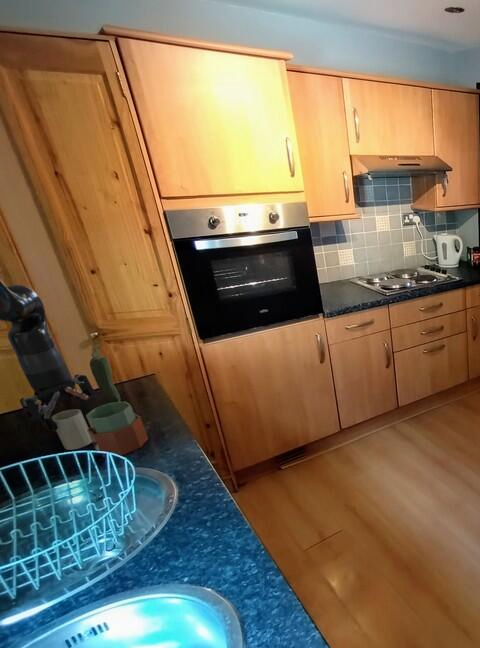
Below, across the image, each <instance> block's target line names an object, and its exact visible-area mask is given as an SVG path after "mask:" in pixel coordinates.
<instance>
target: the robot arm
mask: <svg viewBox="0 0 480 648" xmlns="http://www.w3.org/2000/svg"><path fill="white" fill-rule="evenodd" d="M1 274H2V268H0V275H1ZM0 321H1V322H7V323H10V325H11V327H10V329H9V330H8V332H7V339H8V341H9V343H10V345H11V347H12V349H13V351H14V353H15V356H16V359H17V361H18V364H19V366H20V368H21V370H22V373H23V375H24V376H25V378H26V380H27V383H28V384H29V386H30V387H31V389H32V390H33V395H31V396H28V397H21V398H20V399H19V403H20V405H21V407H22V410H23V412H24V414H25V416H26V419H27V420H28V421H35V422H39V421H40V422H41V424H42V426H43V429H45V430H47V431H51V432H56V430H57V427H56V425H55V423H54V421H53V419H52V417H53V416H52V412H53V411H54V410H55V408H56V405H60V404H62V403H63V402H64V401H68V400H70V399H71V398H74V399H76V400H77V403H78V406H79V407H80V410H81V412H82V413H85V414H88V413H89V412H91V411H92V410H93V406H92V403H91V402H90V400H89V399H90V396H93V395H95V389H94V387H93V386H92V384H91V382H90V380H89V378H88V377H87V375H85V374H75V375H74V376H73V378H72V375H71V373H70V371H69V368H68V367H67V364H66V362H65V359H64V357H63V355H62V353H61V352H60V350H59V349H58V347H57V345H56V344H55V341H54V340H53V337H52V335H51V332H49V329H48V322H47V315H46V311H45V306H44V303H43V301H42V299H41V297H40V295H39V294H38V293H37V292H36V291H35V290H34V289H32V288H30V287H29V286H26V285H22V284H12V285H8V286H6V284H5V283H4V282H3V281H2V279H0ZM76 385H78V387H79V389H80V390H81V391H79V390H76V389H75V387H76ZM37 401H39V403H38V402H37ZM37 406H38V407H37Z"/></svg>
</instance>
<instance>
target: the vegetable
mask: <svg viewBox="0 0 480 648" xmlns="http://www.w3.org/2000/svg"><path fill="white" fill-rule="evenodd" d="M101 348H102V345H101V344H98V343H96V344H94V346H93V347H92V348H91V357H92V358H91V359H90V361H89V367H90V371H91V373H92V376H93V378H94V381H95V383H96V384H97V386H98V388H99V391H100V393H101V394H102V396H103V398H104V399H105V400H106V401H107V402H108V403H114V402H121V395H120V393H119V391H118V389H117V387H116V386H115V384H114V382H113V379H112V370H111V365H110V362H109V360H108V359H107V357H105V356H103V355H101V352H100V350H99V349H101Z"/></svg>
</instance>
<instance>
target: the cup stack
mask: <svg viewBox="0 0 480 648" xmlns="http://www.w3.org/2000/svg"><path fill="white" fill-rule="evenodd" d="M85 417H86V420H87V422H88V423H89V425H90V427H88V428H89V429H88V430H87V431H88V433H89V435H90V438H91V440H92V442H91V443H92V444H93V446H94V449H95V451H96V450H102V451H110V452H114V453H117V454H120V455H122V456H124V455H126V454H129V453H132V452H133V451H135V450H138V449H140V448H142V447H143V446H144V445H145V443H146V442H147V441H148V440H149V436H148V434H147V431H146V428H145V426H144V423H143V420H142V418H141V416H140V415H138V414H136V413H135V412H134V409H133V407H132V404H130V403H128V402H127V401H120V402H114V403H110V402H108V403H105V404H103V405H100V406H97V407H94V408H92V409H91V412H89V413H86V415H85ZM100 456H101V457H102V458H107V457H106V456H104V455H100Z"/></svg>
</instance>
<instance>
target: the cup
mask: <svg viewBox="0 0 480 648" xmlns="http://www.w3.org/2000/svg"><path fill="white" fill-rule="evenodd" d="M51 417H52V419H53V421H54V423H55V425H56V427H57V430H55V432H56V435H57V437H58V438H59V440H60V443H61V444H62V447H63V448H64V449H65V450H67V451H73V450H79V449H81V448H84V447H86V446H88V445H90V444H91V443H93V442H92V440H91V438H90V435H89V433H88V431H87V430H88V429H89V428H90V427H89V426H88V424H87V422H86V419H85V417H84V414H83V411H82V410H81V409H77V408H75V409H73V408H72V409H67V410H62V411H61V412H58V413H55V414H53V415H52V416H51Z"/></svg>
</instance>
